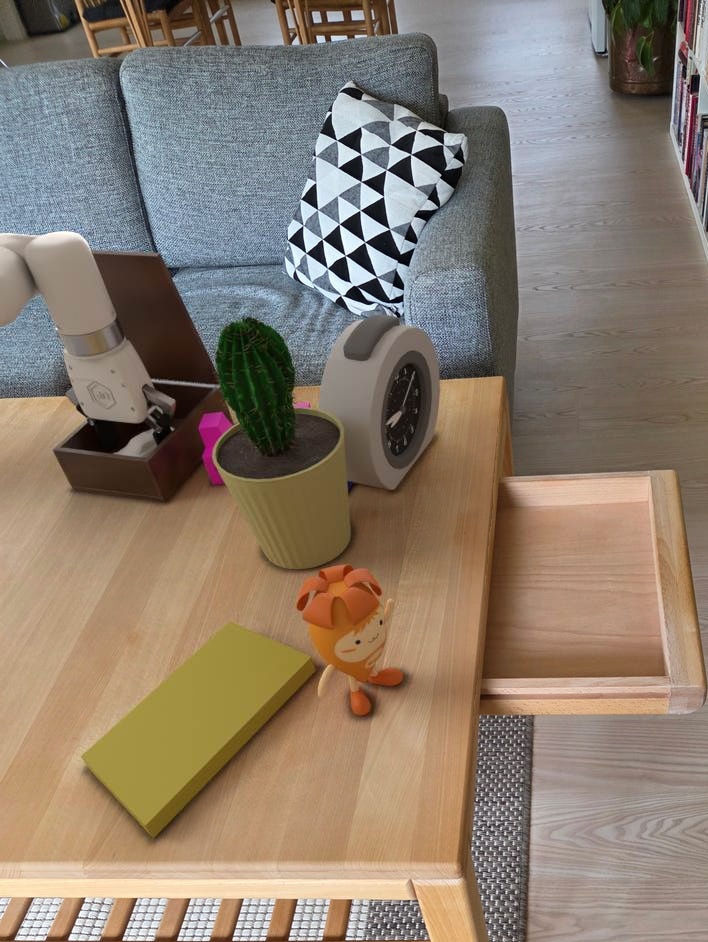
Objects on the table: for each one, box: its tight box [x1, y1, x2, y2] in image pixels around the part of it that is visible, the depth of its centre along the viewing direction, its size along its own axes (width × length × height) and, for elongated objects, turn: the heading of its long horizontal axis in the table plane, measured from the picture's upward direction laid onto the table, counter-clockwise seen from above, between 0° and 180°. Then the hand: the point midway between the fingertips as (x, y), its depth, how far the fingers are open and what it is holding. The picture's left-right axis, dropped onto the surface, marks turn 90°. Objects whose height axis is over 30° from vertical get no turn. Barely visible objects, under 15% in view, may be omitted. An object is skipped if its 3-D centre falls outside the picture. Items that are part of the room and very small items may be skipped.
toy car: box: [113, 427, 174, 458], centre depth 125 cm, size 6×12×3 cm, turn 143°
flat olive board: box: [80, 620, 317, 839], centre depth 90 cm, size 12×2×24 cm
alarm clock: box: [317, 313, 441, 491], centre depth 115 cm, size 21×8×20 cm, turn 158°
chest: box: [52, 379, 235, 503], centre depth 126 cm, size 20×16×7 cm
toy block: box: [198, 401, 312, 485], centre depth 121 cm, size 15×6×8 cm, turn 91°
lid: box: [90, 249, 220, 386], centre depth 121 cm, size 20×16×1 cm
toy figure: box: [295, 564, 404, 717], centre depth 87 cm, size 12×8×15 cm, turn 141°
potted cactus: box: [207, 312, 352, 570], centre depth 100 cm, size 15×15×30 cm
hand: (141, 448), depth 125 cm, fingers open, 9 cm apart
